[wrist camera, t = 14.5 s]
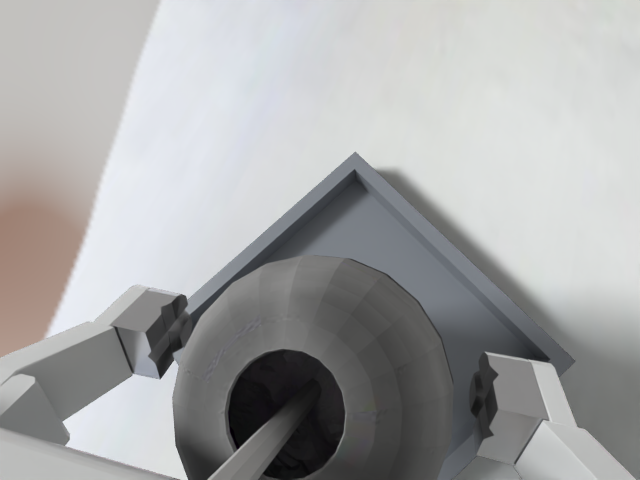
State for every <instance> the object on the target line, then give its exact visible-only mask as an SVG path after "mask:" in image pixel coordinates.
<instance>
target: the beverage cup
mask: <svg viewBox="0 0 640 480" xmlns="http://www.w3.org/2000/svg"><path fill="white" fill-rule="evenodd" d="M453 382H454V381H453V377H452V374H451V370H450V366H449V363H448V359H447V355H446V352H445V348H444V344H443V341H442V337H441V336H440V334H439V332H438V331H437V329H436V328H435V326H434V325H433V323H432V321H431V320H430V318H429V317H428V315H427V313H426V312H425V310H424V309H423V307H422V305H421V304H420V302H419V301H418V300H417V299H416V298H415V297H414V296H412V295H411V294H410V293H409V292H408V291H407V290H405V289H404V288H403V287H402V286H401V285H400V284H398V283H397V282H396V281H395V280H394V279H393V278H391V277H390V276H389V275H388V274H386V273H384V272H381V271H379V270H377V269H374V268H372V267H370V266H367V265H365V264H363V263H360V262H358V261H356V260H353V259H350V258H339V257H329V256H318V255H303V256H298V257H294V258H289V259H285V260H280V261H276V262H271V263H267V264H265V265H263V266H261V267H260V268H258V269H256V270H254V271H253V272H251V273H249V274H247V275H246V276H244V277H242V278H240V279H239V280H237V281H235V282H233V283H232V284H231V285H230V286H229V287H228V288H227V289H226V290H225V291H224V292H223V293H222V294H221V295H220V296H219V298H218V299H217V300H216V301H215V302H214V303H213V304H212V305H211V306H210V307H209V308H208V309H207V310H206V311H205V312H204V313H203V314H202V315H201V317H200V319H199V321H198V323H197V325H196V326H195V328H194V330H193V332H192V334H191V336H190V338H189V340H188V342H187V344H186V346H185V348H184V350H183V352H182V354H181V358H180V363H179V368H178V373H177V378H176V383H175V387H174V392H173V397H172V398H173V415H174V429H175V443H176V448H177V450H178V453H179V456H180V458H181V461H182V464H183V467H184V469H185V472H186V475H187V477H188V480H437V478H438V475H439V473H440V470H441V467H442V464H443V462H444V459H445V456H446V454H447V451H448V448H449V445H450V443H451V438H452V414H453V387H454V386H453Z"/></svg>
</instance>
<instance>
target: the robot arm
mask: <svg viewBox="0 0 640 480" xmlns="http://www.w3.org/2000/svg"><path fill="white" fill-rule="evenodd" d="M187 306H188V302H187V298H186V296H185V295H182V294H179V293H174V292H170V291H165V290H160V289H156V288H150V287H145V286H141V285H134V286H132V287H130V288H129V289H128V290H127V291H126V292H125V293H124V294H123V295H121V296H120V297H119V298H118V299H117V300H116V301H115V302H114V303H113V304H112V305H111V306H110V307H109V308H108V309H106V310H105V311H104V312H103V313H102V314H101V315H100V316H99V317H98V318H97V319H96V320H95V321H94V322H85V323H83V324H80V325H78V326H76V327H73V328H71V329H68V330H66V331H63V332H61V333H59V334H56V335H54V336H51V337H49V338H46V339H44V340H42V341H39V342H37V343H35V344H32V345H30V346H27V347H25V348H22V349H20V350H17V351H15V352H13V353H10V354H8V355H6V356H3V357H0V480H179V479H176V478H172V477H169V476H166V475H162V474H159V473H155V472H152V471H148V470H145V469H142V468H138V467H135V466H131V465H128V464H124V463H121V462H118V461H114V460H111V459H107V458H104V457H100V456H97V455H94V454H90V453H87V452H83V451H80V450H76V449H73V448H70V447H66V446H65V445H66V444H67V442H68V441H69V440H70V434H69V432H68V431H67V429H66V427H65V426H64V424H63V422H62V421H64V420H65V419H67V418H68V417H70V416H71V415H73V414H74V413H76V412H78V411H79V410H81V409H82V408H84V407H85V406H87V405H88V404H90V403H91V402H93V401H94V400H96V399H97V398H99V397H100V396H102V395H103V394H105V393H106V392H108V391H110V390H111V389H113V388H114V387H116V386H117V385H119V384H120V383H122V382H123V381H125V380H126V379H128V378H129V377H131V376H132V374H137V375H142V376H146V377H151V378H156V379H161V378H162V376H163V375H164V374H165V372H166V371H167V369H168V368H169V367H170V365H171V364H172V362H173V361H174V352H176V351H178V350H180V349H182V348H183V347H184V345H185V344H186V342H187V341H188V339H189V336H190V334H191V331H192V319H191V316H190V315H189V314H188V312H187V311H186V310H185V308H186V307H187ZM478 363H479V369H480V370H479V371H477V372H475V373H474V374H473V377H472V380H471V383H470V390H469V404H470V411H471V413H472V414H473V415H474V417H475V418H476V421H475V423H474V426H473V428H472V429H473V437H474V444H475V452H476V455H477V456H481V457H485V458H488V459H492V460H496V461H500V462H503V463H507V464H511V465H515V466H514V468H515V470H516V471H517V473H518V474H519V476H520V477H521V479H522V480H636V479H635V478H634V477H633V476H632V475H631V474H630V473H629V472H628V471H627V470H626V469H625V468H624V467H623V466H622V465H621V464H620V463H619V462H618V461H617V460H616V459H615V458H614V457H613V456H612V455H611V454H610V453H609V452H608V451H607V450H606V449H605V448H604V447H603V446H602V445H601V444H600V443H599V442H598V441H597V440H596V439H595V438H594V437H593V436H592V435H591V434H590V433H589V432H588V431H587V430H586V429H582V428H578V427H577V424H576V421H575V419H574V416H573V414H572V411H571V409H570V406H569V403H568V401H567V398H566V396H565V393H564V391H563V388H562V385H561V383H560V380H559V378H558V375H557V372H556V370H555V367H554V366H553V365H552V364H551V363H545V362H540V361H534V360H529V359H528V360H526V359H523V358H518V357H512V356H507V355H501V354H495V353H490V352H483V353H482V354H481V356H480V359H479V361H478Z"/></svg>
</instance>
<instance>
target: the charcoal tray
mask: <svg viewBox="0 0 640 480" xmlns="http://www.w3.org/2000/svg"><path fill="white" fill-rule="evenodd" d="M303 255H318V256H329V257H339V258H350V259H353V260H356V261H358V262H360V263H363V264H365V265H367V266H370V267H372V268H374V269H377V270H379V271H381V272H384V273H386V274H388V275H389V276H390V277H391V278H393V279H394V280H395V281H396V282H397V283H398V284H400V285H401V286H402V287H403V288H404V289H405V290H407V291H408V292H409V293H410V294H411V295H412V296H414V297H415V298H416V299H417V300H418V301H419V302H420V304H421V305H422V307H423V309H424V310H425V312H426V313H427V315H428V317H429V318H430V320H431V321H432V323H433V325H434V326H435V328H436V329H437V331H438V332H439V334H440V336H441V337H442V341H443V344H444V348H445V352H446V355H447V359H448V363H449V366H450V370H451V374H452V377H453V381H454V382H453V386H454V387H453V414H452V438H451V443H450V445H449V448H448V451H447V454H446V456H445V459H444V462H443V464H442V467H441V470H440V473H439V475H438V478H437V480H452V479H453V478H454V477H456V476H457V475H458V474H459V473H460V472H461V471H462V470H463V469H464V468H465V467H466V466H467V465H468V464H469V463H470V462H471V461H472V460H473V459H474V458H475V457H476V456H477V455H476V452H475V444H474V437H473V429H472V428H473V426H474V423H475V421H476V418H475V417H474V415H473V414H472V413H471V411H470V404H469V390H470V383H471V380H472V377H473V374H474V373H475V372H477V371H479V370H480V369H479V363H478V361H479V359H480V356H481V354H482V353H483V352H490V353H495V354H501V355H507V356H512V357H518V358H523V359H526V360H528V359H529V360H534V361H540V362H545V363H551V364H552V365H553V366H554V367H555V370H556V372H557V375H558V378H559V377H560V376H561V375H562V374H563V373H564V372H565V371H566V370H567V369H568V368H569V367H570V366H571V365H572V364H573V363H574V362H575V360H574V359H573V358H572V357H571V356H570V355H569V354H568V353H567V352H566V351H564V350H563V349H562V348H561V347H560V346H559V345H558V344H557V343H556V342H555V341H554V340H553V339H552V338H551V337H550V336H549V335H548V334H547V333H546V332H544V331H543V330H542V329H541V328H540V327H539V326H538V325H537V324H536V323H535V322H534V321H533V320H532V319H531V318H530V317H529V316H528V315H527V314H526V313H525V312H523V311H522V310H521V309H520V308H519V307H518V306H517V305H516V304H515V303H514V302H513V301H512V300H511V299H510V298H509V297H508V296H507V295H506V294H505V293H503V292H502V291H501V290H500V289H499V288H498V287H497V286H496V285H495V284H494V283H493V282H492V281H491V280H490V279H489V278H488V277H487V276H486V275H485V274H483V273H482V272H481V271H480V270H479V269H478V268H477V267H476V266H475V265H474V264H473V263H472V262H471V261H470V260H469V259H468V258H467V257H466V256H465V255H464V254H462V253H461V252H460V251H459V250H458V249H457V248H456V247H455V246H454V245H453V244H452V243H451V242H450V241H449V240H448V239H447V238H446V237H445V236H444V235H442V234H441V233H440V232H439V231H438V230H437V229H436V228H435V227H434V226H433V225H432V224H431V223H430V222H429V221H428V220H427V219H426V218H425V217H424V216H423V215H421V214H420V213H419V212H418V211H417V210H416V209H415V208H414V207H413V206H412V205H411V204H410V203H409V202H408V201H407V200H406V199H405V198H404V197H403V196H401V195H400V194H399V193H398V192H397V191H396V190H395V189H394V188H393V187H392V186H391V185H390V184H389V183H388V182H387V181H386V180H385V179H384V178H383V177H382V176H380V175H379V174H378V173H377V172H376V171H375V170H374V169H373V168H372V167H371V166H370V165H369V164H368V163H367V162H366V161H365V160H364V159H363V158H362V157H360V156H359V155H358V154H357V153H356V152H354V153H353V154H352V155H351V156H350V157H349V158H348V159H347V160H345V161H344V162H343V163H342V164H341V165H340V166H339V167H337V168H336V169H335V170H334V171H333V172H332V173H331V174H330V175H328V176H327V177H326V178H325V179H324V180H323V181H322V182H320V183H319V184H318V185H317V186H316V187H315V188H314V189H313V190H311V191H310V192H309V193H308V194H307V195H306V196H305V197H303V198H302V199H301V200H300V201H299V202H298V203H297V204H296V205H294V206H293V207H292V208H291V209H290V210H289V211H288V212H286V213H285V214H284V215H283V216H282V217H281V218H280V219H278V220H277V221H276V222H275V223H274V224H273V225H272V226H271V227H269V228H268V229H267V230H266V231H265V232H264V233H263V234H261V235H260V236H259V237H258V238H257V239H256V240H255V241H254V242H252V243H251V244H250V245H249V246H248V247H247V248H246V249H244V250H243V251H242V252H241V253H240V254H239V255H238V256H237V257H235V258H234V259H233V260H232V261H231V262H230V263H229V264H227V265H226V266H225V267H224V268H223V269H222V270H221V271H220V272H218V273H217V274H216V275H215V276H214V277H213V278H212V279H210V280H209V281H208V282H207V283H206V284H205V285H204V286H203V287H201V288H200V289H199V290H198V291H197V292H196V293H195V294H193V295H192V296H191V297H190V298H189V299H188V300H187V302H188V306H187V307H186V308H185V310H186V311H187V312H188V314H189V315H190V316H191V319H192V331H191V334H192V332H193V330H194V328H195V326H196V325H197V323H198V321H199V319H200V317H201V315H202V314H203V313H204V312H205V311H206V310H207V309H208V308H209V307H210V306H211V305H212V304H213V303H214V302H215V301H216V300H217V299H218V298H219V296H220V295H221V294H222V293H223V292H224V291H225V290H226V289H227V288H228V287H229V286H230V285H231V284H232V283H233V282H235V281H237V280H239V279H240V278H242V277H244V276H246V275H247V274H249V273H251V272H253V271H254V270H256V269H258V268H260V267H261V266H263V265H265V264H267V263H271V262H276V261H280V260H285V259H289V258H294V257H298V256H303ZM191 334H190V336H191ZM190 336H189V338H190ZM188 340H189V339H188ZM187 342H188V341H187ZM187 342H186V344H187ZM186 344H185V345H184V347H183V348H182V349H180V350H178V351H176V352H174V359H175V361H176V362H177V364H178V365H179V363H180V358H181V354H182V352H183V350H184V348H185V346H186Z"/></svg>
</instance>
